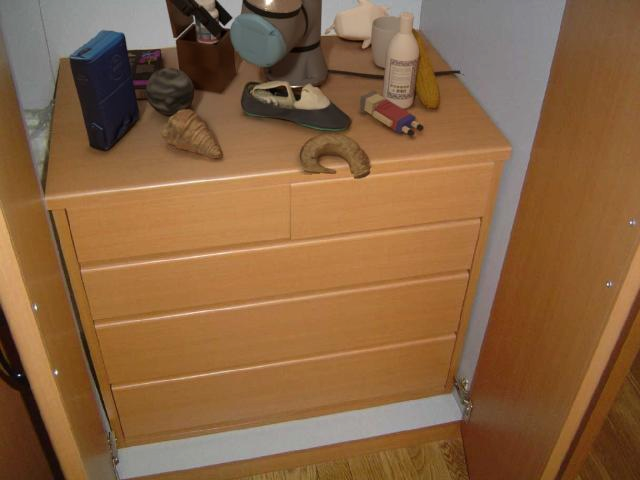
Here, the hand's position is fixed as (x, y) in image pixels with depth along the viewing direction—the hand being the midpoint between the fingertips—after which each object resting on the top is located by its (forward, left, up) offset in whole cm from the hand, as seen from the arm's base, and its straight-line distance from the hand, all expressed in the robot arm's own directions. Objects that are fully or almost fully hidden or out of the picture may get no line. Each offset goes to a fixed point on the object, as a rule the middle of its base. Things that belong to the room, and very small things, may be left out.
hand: (223, 27), depth 145 cm
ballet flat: (-20, +11, -13) cm, 26 cm away
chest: (+5, 0, -13) cm, 14 cm away
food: (-51, -4, -10) cm, 52 cm away
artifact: (-25, +23, -12) cm, 36 cm away
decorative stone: (+6, +16, -14) cm, 22 cm away
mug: (-34, -19, -13) cm, 41 cm away
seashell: (-3, +27, -14) cm, 31 cm away
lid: (+10, 0, +4) cm, 10 cm away
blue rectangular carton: (+14, +27, -14) cm, 34 cm away
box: (+22, +5, -14) cm, 26 cm away
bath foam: (-39, -3, -14) cm, 42 cm away
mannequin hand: (-21, -36, -11) cm, 43 cm away
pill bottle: (+4, 0, -4) cm, 5 cm away
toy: (-46, +10, -12) cm, 48 cm away
